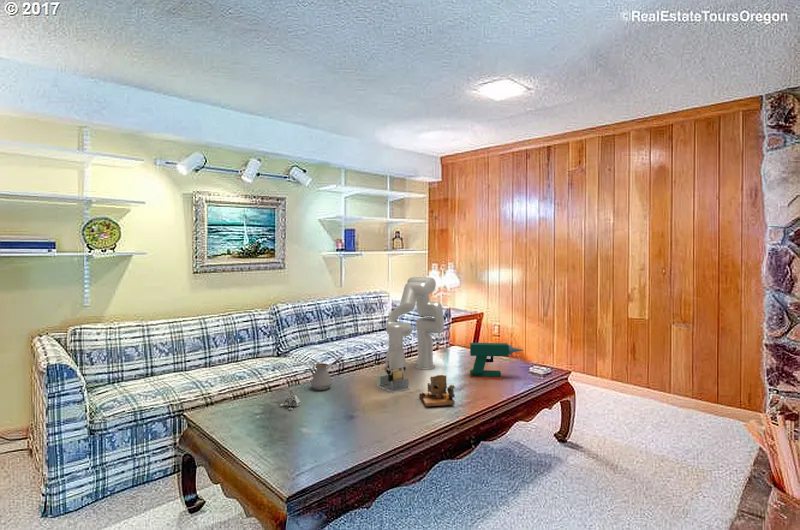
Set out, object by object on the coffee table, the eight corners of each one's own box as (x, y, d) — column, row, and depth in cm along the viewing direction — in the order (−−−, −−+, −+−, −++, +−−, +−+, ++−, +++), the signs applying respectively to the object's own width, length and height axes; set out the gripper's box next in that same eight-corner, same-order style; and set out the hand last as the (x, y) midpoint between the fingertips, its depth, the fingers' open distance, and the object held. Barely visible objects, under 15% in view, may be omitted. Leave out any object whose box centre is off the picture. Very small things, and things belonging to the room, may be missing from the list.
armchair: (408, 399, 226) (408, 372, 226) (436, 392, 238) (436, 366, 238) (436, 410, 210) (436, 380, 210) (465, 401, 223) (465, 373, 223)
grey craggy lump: (274, 407, 215) (274, 391, 215) (285, 402, 223) (285, 386, 223) (291, 409, 212) (291, 393, 212) (301, 403, 220) (301, 388, 220)
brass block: (389, 381, 243) (389, 370, 243) (398, 380, 247) (398, 369, 247) (393, 383, 240) (393, 372, 240) (402, 381, 244) (402, 370, 244)
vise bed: (376, 386, 250) (376, 375, 249) (392, 382, 256) (392, 372, 256) (392, 393, 236) (392, 382, 236) (409, 389, 243) (409, 378, 243)
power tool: (523, 377, 268) (523, 343, 267) (525, 380, 261) (525, 345, 260) (469, 375, 271) (469, 342, 270) (469, 378, 264) (469, 344, 263)
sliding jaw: (377, 384, 249) (377, 375, 249) (392, 381, 255) (392, 372, 255) (380, 385, 247) (380, 376, 247) (395, 382, 253) (395, 373, 253)
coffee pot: (319, 392, 238) (319, 364, 238) (306, 388, 245) (306, 360, 245) (350, 384, 254) (350, 357, 253) (337, 380, 261) (336, 354, 261)
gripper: (404, 344, 251) (404, 377, 252) (378, 348, 242) (378, 381, 242) (412, 346, 245) (412, 379, 245) (386, 350, 235) (386, 385, 236)
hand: (395, 380), depth 244 cm, fingers closed on brass block, 6 cm apart
